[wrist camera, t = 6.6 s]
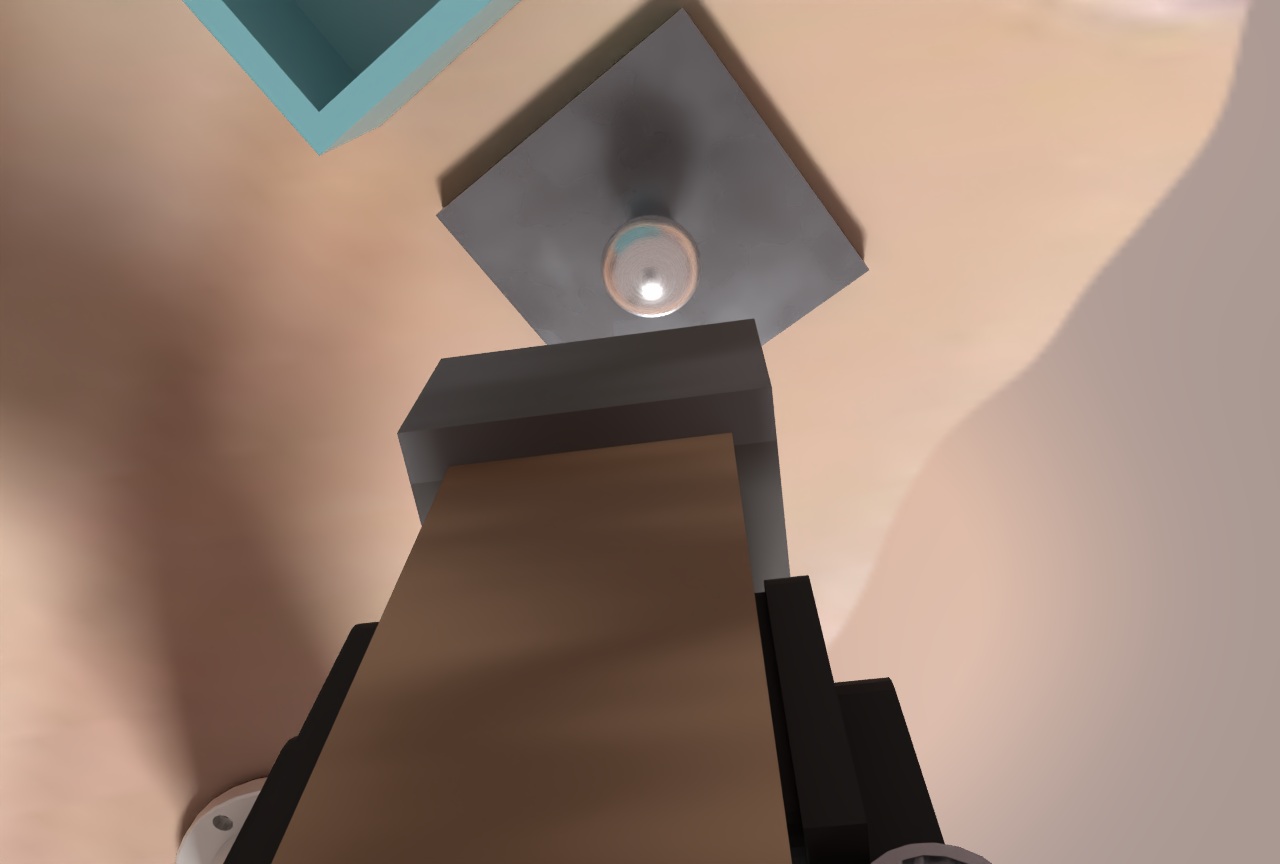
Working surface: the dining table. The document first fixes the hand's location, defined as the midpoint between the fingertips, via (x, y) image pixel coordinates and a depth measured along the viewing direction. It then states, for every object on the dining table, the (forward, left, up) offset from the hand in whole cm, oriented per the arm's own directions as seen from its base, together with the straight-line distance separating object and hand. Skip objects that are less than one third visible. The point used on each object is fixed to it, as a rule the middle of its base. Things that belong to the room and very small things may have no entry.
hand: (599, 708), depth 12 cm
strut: (0, 0, -6) cm, 6 cm away
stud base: (0, 0, -24) cm, 24 cm away
